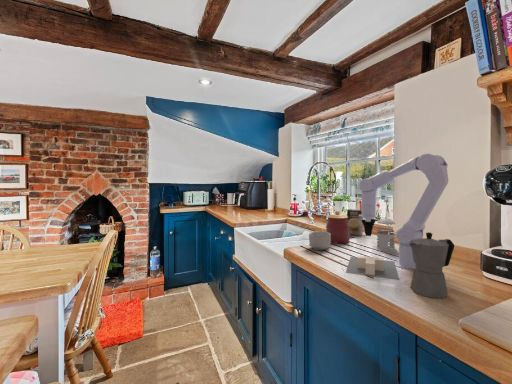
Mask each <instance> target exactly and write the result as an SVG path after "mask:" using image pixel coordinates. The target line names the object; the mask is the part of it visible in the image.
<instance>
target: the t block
mask: <svg viewBox="0 0 512 384" xmlns="http://www.w3.org/2000/svg"><path fill="white" fill-rule="evenodd" d="M356 257H357V268H363V269H366V274H368V275H375V270H378V271H384V260H385V259H384V258H383V257H375V256H368V255H367V256H366V255H357V256H356Z"/></svg>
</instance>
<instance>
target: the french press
mask: <svg viewBox="0 0 512 384" xmlns="http://www.w3.org/2000/svg"><path fill="white" fill-rule="evenodd" d="M383 202H384V203H388V202H389V200H388V199H384V200H383ZM376 222H377V224H381V225H386V227H387V228H378V229H377V232H376V237H377V239H376V241H377V242H376V244H377V245H376V247H375V248H374V249H375V250H376V251H377V250H380V251H383V252H397V251H398V250H397V249H396V244H395V243H396V240H395V239H396V238H395V236H396V233H394V232H395V230H394V227H393V225H395V224H396V222H395V221H394V220H391V219H389V218H383V219H379V220H377V221H376ZM391 228H392V229H391Z"/></svg>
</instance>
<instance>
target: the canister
mask: <svg viewBox="0 0 512 384" xmlns="http://www.w3.org/2000/svg"><path fill="white" fill-rule="evenodd" d="M326 217H327V219H326V220H325V222H326V225H325V232H328V233H330V234H331V235H330V236H331V243H332V244H347V243H350V239H351V238H350V235H349V228H350V227H349V222H350V221H349V220H348V219H347V218H348V217H347V214H344V213H341V211H340V210H336V211H335V213H330V214H329V215H327V216H326Z"/></svg>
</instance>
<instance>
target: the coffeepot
mask: <svg viewBox="0 0 512 384" xmlns="http://www.w3.org/2000/svg"><path fill="white" fill-rule="evenodd" d="M425 235H426V237H425V238H422V239H415V240H411V243H410V244H409V246H411V247H412V254H413V260H414V262H415V263H416V268H415V269H413V272H412V279H411V282H410V289H411V291H412V292H414V293H416V294H417V295H420V296H423V297H426V298H431V299H444V298H446V297H447V296H448V295H449V293H448V288H447V283H446V282H447V281H446V278H445V277H446V276H445V273H444V272H443V268H444V267H448V266H449V265H450V262H451V259H452V256H453V252H454V249H455V244H454V243H453V241H452V240H451V239H448V238H447V239H438V240H437V239H435V238H432V236H433V233H432V232H425Z"/></svg>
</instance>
